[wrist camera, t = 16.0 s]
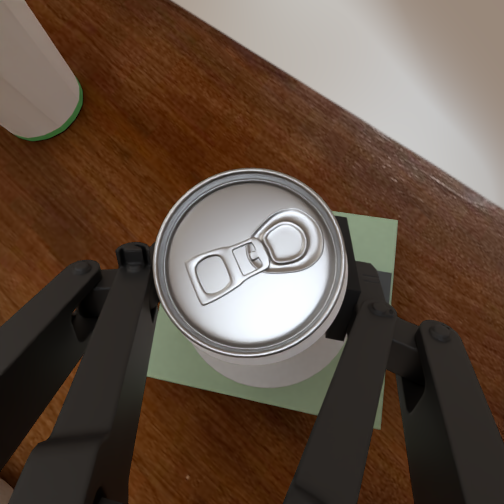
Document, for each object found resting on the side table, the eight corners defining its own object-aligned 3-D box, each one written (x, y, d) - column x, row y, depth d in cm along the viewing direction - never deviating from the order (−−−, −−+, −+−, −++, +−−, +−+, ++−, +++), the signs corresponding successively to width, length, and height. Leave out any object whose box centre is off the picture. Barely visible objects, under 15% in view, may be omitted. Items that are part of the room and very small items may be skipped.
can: (330, 319, 19) (408, 313, 8) (241, 360, 19) (182, 418, 8) (287, 234, 21) (298, 122, 9) (204, 272, 21) (111, 207, 9)
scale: (386, 230, 24) (402, 216, 20) (369, 417, 21) (385, 434, 18) (196, 202, 26) (185, 186, 23) (155, 370, 23) (136, 377, 20)
